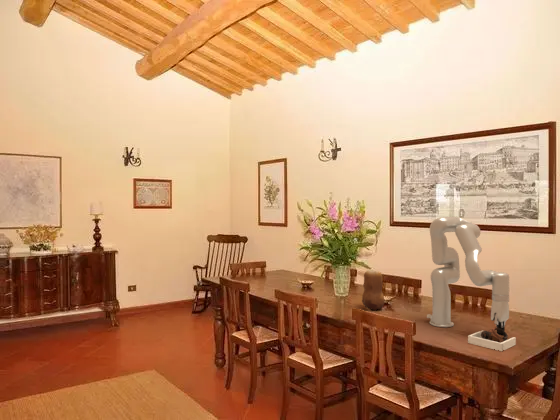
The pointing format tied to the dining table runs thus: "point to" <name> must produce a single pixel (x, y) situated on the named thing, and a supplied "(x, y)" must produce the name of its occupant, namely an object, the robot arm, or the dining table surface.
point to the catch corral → (490, 342)
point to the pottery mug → (494, 334)
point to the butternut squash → (373, 290)
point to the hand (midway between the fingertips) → (500, 334)
